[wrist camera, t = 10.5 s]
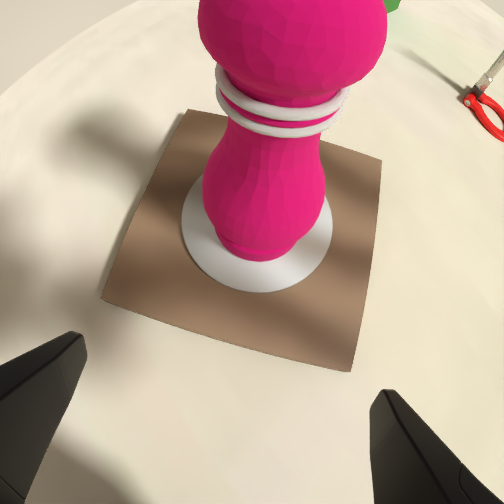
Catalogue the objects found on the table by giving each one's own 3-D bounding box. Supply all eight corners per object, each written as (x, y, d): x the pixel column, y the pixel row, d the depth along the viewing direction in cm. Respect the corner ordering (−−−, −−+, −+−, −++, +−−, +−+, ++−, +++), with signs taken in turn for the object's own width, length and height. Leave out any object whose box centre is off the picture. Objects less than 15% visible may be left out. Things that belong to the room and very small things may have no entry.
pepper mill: (327, 237, 23) (488, -26, 4) (240, 289, 21) (280, -69, 2) (272, 163, 25) (322, -100, 6) (189, 205, 23) (134, -92, 4)
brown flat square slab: (344, 371, 21) (352, 372, 20) (106, 301, 22) (98, 297, 21) (376, 167, 27) (383, 157, 26) (189, 117, 28) (187, 105, 27)
